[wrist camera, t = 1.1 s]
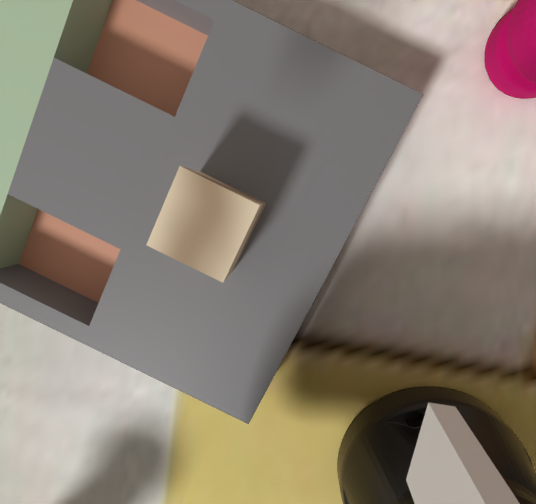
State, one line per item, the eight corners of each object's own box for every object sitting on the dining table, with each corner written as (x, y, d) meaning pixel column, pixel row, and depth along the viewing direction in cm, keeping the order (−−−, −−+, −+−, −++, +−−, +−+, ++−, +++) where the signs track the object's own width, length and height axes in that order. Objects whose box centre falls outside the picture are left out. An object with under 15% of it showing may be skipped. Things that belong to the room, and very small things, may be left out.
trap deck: (403, 109, 26) (423, 94, 22) (254, 395, 31) (248, 424, 27) (-9, -94, 26) (-62, -145, 22) (-99, 222, 31) (-157, 226, 27)
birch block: (265, 203, 24) (259, 205, 20) (235, 267, 25) (223, 282, 21) (200, 171, 24) (179, 165, 20) (171, 236, 25) (146, 245, 21)
